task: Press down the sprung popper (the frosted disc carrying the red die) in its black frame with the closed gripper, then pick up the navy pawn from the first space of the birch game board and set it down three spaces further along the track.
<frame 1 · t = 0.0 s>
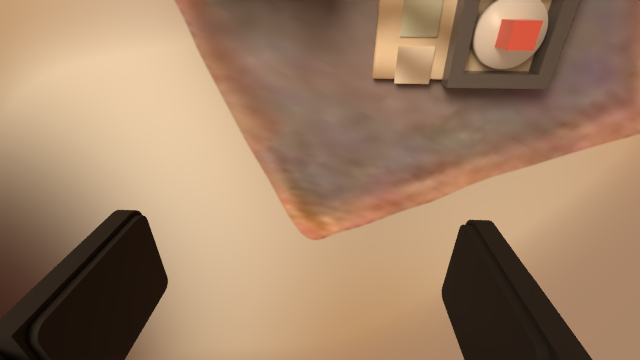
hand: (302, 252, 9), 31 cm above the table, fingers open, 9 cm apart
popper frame: (503, 32, 33), resting on board
popper: (514, 34, 31), point 3 cm above the table, slide at -0.7 cm
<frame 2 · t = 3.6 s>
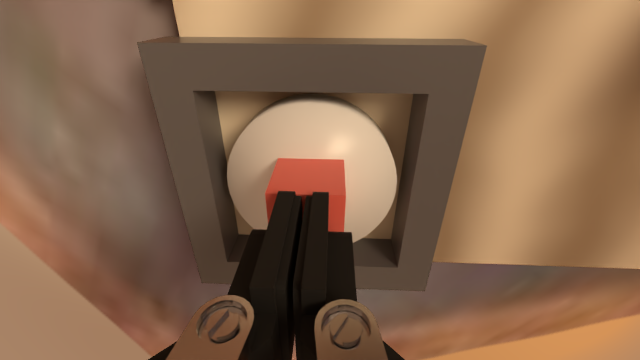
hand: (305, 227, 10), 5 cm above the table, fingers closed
board: (485, 77, 13), on the table
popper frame: (313, 169, 14), resting on board
popper: (310, 194, 12), point 3 cm above the table, slide at -0.8 cm, touching gripper
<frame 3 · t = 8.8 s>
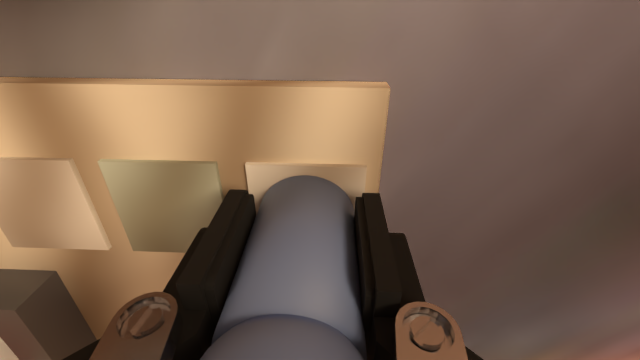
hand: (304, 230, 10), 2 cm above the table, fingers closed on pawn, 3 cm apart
board: (112, 281, 15), on the table
pawn: (306, 216, 11), point 1 cm above the table, touching board, gripper
when the fingers open (3 cm above the table, at t = 13.6 s): pawn stays where it is, resting on board.
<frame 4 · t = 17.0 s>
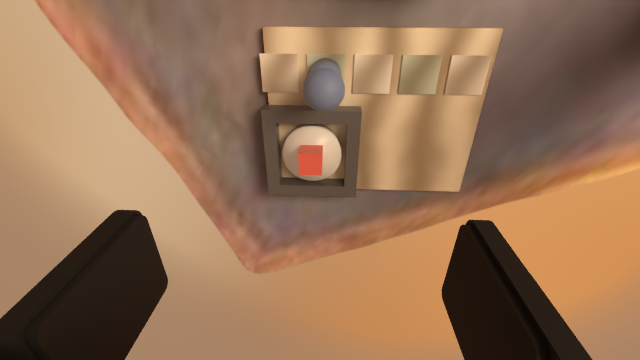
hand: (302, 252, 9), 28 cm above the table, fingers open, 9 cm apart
board: (372, 117, 36), on the table
pawn: (325, 74, 33), point 1 cm above the table, touching board
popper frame: (312, 149, 38), resting on board
popper: (311, 157, 36), point 3 cm above the table, slide at -0.8 cm
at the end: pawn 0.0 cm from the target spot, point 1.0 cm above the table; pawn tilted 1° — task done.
